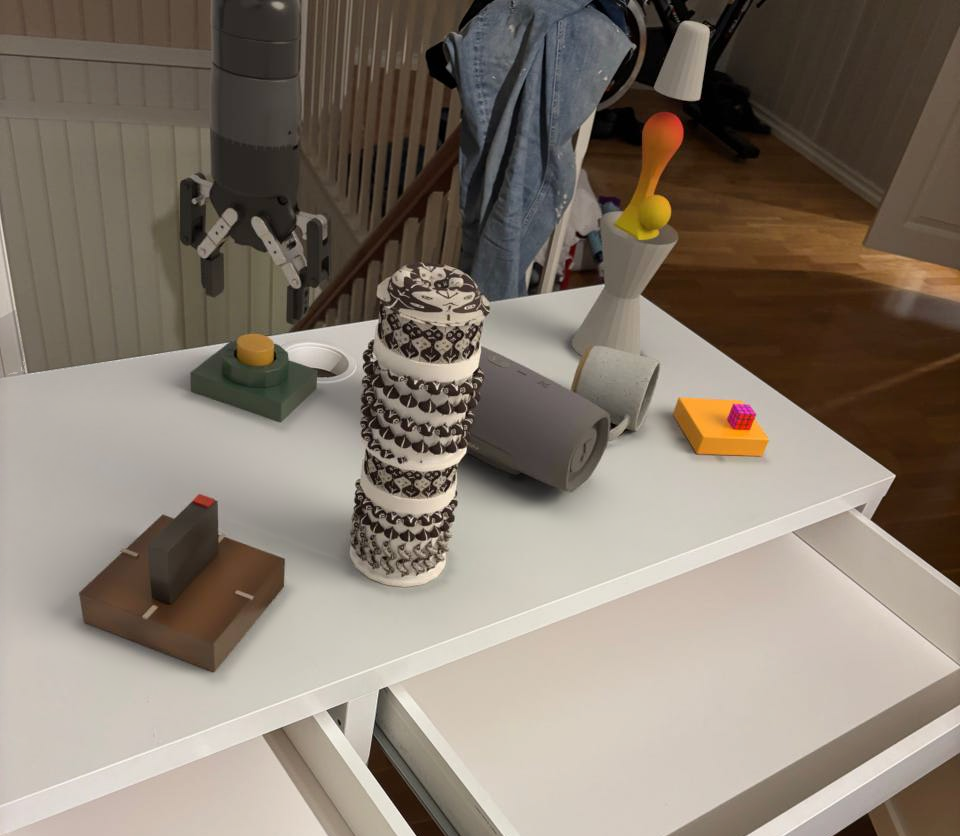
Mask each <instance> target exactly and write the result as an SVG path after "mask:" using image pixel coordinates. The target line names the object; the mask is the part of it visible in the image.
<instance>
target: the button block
mask: <svg viewBox="0 0 960 836" xmlns="http://www.w3.org/2000/svg"><path fill="white" fill-rule="evenodd" d="M289 359H290V358H289V352H288V351H286V349H284V348H283V347H282V346H281V345H280V344H278V343H274V360H273V362H272V363H271V364H268V365H264V366H254V365H248V364H245V363H242V362H240V361H239V360H238V359H237V340H230V341H229V342H228V343H226V344H225V345H224V346H223V347H221V348H220V349H218V350H217V351H216V352H215V353H214V354H212V355H211V356H209V357H208V358H207V359H206V360H204V361H203V362H202V363H201V364H199V365H198V366H197V367H196V368H194V369H193V370H191V371H190V374H189V376H190V378H189V379H190V393H194V394H196V395H199V396H202V397H205V398H208V399H211V400H214V401H217V402H220V403H222V404H226V405H228V406H232V407H234V408H237V409H240V410H243V411H245V412H248V413H252V414H255V415H257V416H260V417H263V418H266V419H269V420H272V421H275V422H278V423H282V422H283V421H284V420H286V418H287V417H288V416H289V415H291V414H292V413H293V412H294V411H295V410H296V409H297V408H298V407H299V406H300V405H301V404H302V403H303V402H304V401H305V400H306V399H307V398H308V397H309V396H310V395H311V394H312V393H313V392H314V391H315V390H317V385H318V369H316V368H313V367H310V366H308V365H306V364H302V363H298V362H295V361H292V360H289Z"/></svg>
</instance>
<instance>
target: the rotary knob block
mask: <svg viewBox="0 0 960 836" xmlns="http://www.w3.org/2000/svg"><path fill="white" fill-rule="evenodd" d="M174 518H175V517H172V516H169V515H165V514H162V515H160V516H159V517H158V518H157V519H156V520H155V521H154V522H152V524H151V525H150V526H148V528H146V529H145V530H144V531H143V532H142V533H141V534H139V536H138V537H137V538H135V540H133V541H132V542H131V543H130V544H129V545H128V546H127V547H126V548H124V547H122V548H121V549H120V550H119V553H120V554H118V555H117V557H115V558H114V559H113V560H112V561H111V562H110V563H109V564H108V565H107V566H106V567H104V568H103V570H102V571H100V572H99V573H98V574H97V575H96V576H95V577H94V578H93V579H91V581H90V582H88V583H87V585H85V587H83V588H82V589H81V590H80V591H79V593H78V595H79V602H80V607H81V609H80V610H81V615H82V620H83V623H85V624H88V625H90V626H93V627H95V628H99V629H101V630H103V631H105V632H106V631H107V632H108V633H111V634H114V635H116V636H119V637H121V638H125V639H127V640H129V641H132V642H135V643H137V644H139V645H143V646H145V647H148V648H150V649H153V650H155V651H158V652H160V653H163V654H166V655H169V656H171V657H173V658H177V659H178V660H182V661H184V662H187V663H188V664H189V663H190V664H192V665H195V666H197V667H200V668H202V669H205V670H207V671H211V672H213V673H215V672H216V671H217V669H218V668H220V666H221V665H222V663H223V662H224V661H225V660H226V658H228V656H229V655H230V654H231V652H232V651H233V650H234V648H236V646H237V645H238V644H239V643H240V642H241V640H242V639H243V637H245V635H246V634H247V633H248V632H249V630H250V629H251V628H252V627H253V625H255V623H256V622H257V621H258V620H259V618H260V617H261V615H262V614H263V613H264V612H265V611H266V610H267V608H268V607H269V605H270V604H271V603H272V602H273V601H274V599H275V598H276V597H277V595H278V594H279V593H280V592H281V591H282V590H283V589H284V587H285V570H286V569H285V568H286V558H285V557H282V556H279V555H276V554H273V553H270V552H267V551H265V550H262V549H260V548H257V547H254V546H251V545H248V544H245V543H243V542H240V541H237V540H235V539H232V538H229V537H227V534H226V533H223V532H222V533H220V534H218V535H219V553H218V554H217V555H216V556H215V557H214V558H213V559H212V560H211V561H210V562H209V563H208V564H207V566H206V567H205V568H204V569H203V570H202V571H201V572H200V573H199V574H198V575H197V576H196V577H195V579H194V580H193V581H192V582H191V583H190V584H189V585H188V586H187V587H186V588H185V589H184V590H183V592H182V593H181V594H180V595H179V596H178V597H177V598H176V599H175V600H174V601H173V602H172V603H171V604H168V603H165V602H163V601H160V600H157V599H155V598H152V595H151V584H150V572H149V561H148V550H147V545H148V544H149V543H150V542H151V541H152V540H153V539H154V538H155V537H156V536H157V535H158V534H159V533H160V532H161V531H162V530H163V529H164V528H165V527H166V526H167V525H168V524H169V523H170V522H171V521H172V520H173V519H174Z"/></svg>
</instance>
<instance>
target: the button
mask: <svg viewBox="0 0 960 836" xmlns="http://www.w3.org/2000/svg"><path fill="white" fill-rule="evenodd" d="M236 341H237V359H238V360H239V361H240V362H242V363H245V364H248V365H254V366H264V365H268V364H271V363H272V362H273V360H274V344H275V342H274V340H272V338H270V337H268V336H267V335H264V334H259V333H247V334H243V335H240V336H239V337H238V338H237V339H236Z"/></svg>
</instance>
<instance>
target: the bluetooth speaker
mask: <svg viewBox="0 0 960 836" xmlns="http://www.w3.org/2000/svg"><path fill="white" fill-rule="evenodd" d="M478 366H479V367H480V368H481V372H482V373H483V374H484V381H483V382H482V386H481V388H479V394H480V395H481V399H480V401H479V402H477V406H476V407H475V408H473V409H471V410H472V414H473V415H474V417H475V420H474V422H473V423H472V427H471V429H470V432H469V433H470V435H471V440H470V441H469V442H468V444H467V450H466V454H469V455H471V456H472V457H475V458H477V459H478V460H480V461H482V462H484V463H485V464H488V465H490V466H492V467H495V468H497V469H498V470H501V471H503V472H506V473H509V474H512V475H518V476H519V475H520V474H524V475H526V476H529V477H531V478H533V479H535V480H537V481H539V482H541V483H544V484H546V485H549V486H551V487H553V488H556V489H559V490H561V491H564V492H567V493H573V492H575V491H576V490H577V489H578V488H579V487H581V486H582V485H583V484H584V483H586V482H587V481H588V480H589V479H590V477H591V476H592V475H593V473H594V472H595V470H596V469H597V468H598V465H599V463H600V462H601V460H602V458H603V456H604V454H605V451H606V449H607V447H608V444H609V442H608V440H609V435H610V430H611V424H612V423H611V419H610V414H609V413H607V412H606V411H604V410H603V409H601V408H600V407H598V406H597V405H595V404H594V403H592V402H591V401H589V400H587V399H585V398H584V397H582V396H580V395H578V394H576V393H574V392H573V391H571V389H569V388H567V387H565V386H563V385H561V384H560V383H558V382H556V381H555V380H552V379H550V378H548V377H546V376H545V375H542V374H540V373H539V372H536V371H534V370H533V369H530V368H529V367H527V366H525V365H523V364H521V363H518V362H517V361H515V360H513V359H511V358H508V357H507V356H505V355H502V354H500V353H498V352H496V351H494V350H492V349H489V348H487V347H485V346H482V345H481V354H480V359H479V365H478ZM473 379H474V377H472V380H473ZM472 380H471V381H472ZM468 399H469V397H468Z"/></svg>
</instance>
